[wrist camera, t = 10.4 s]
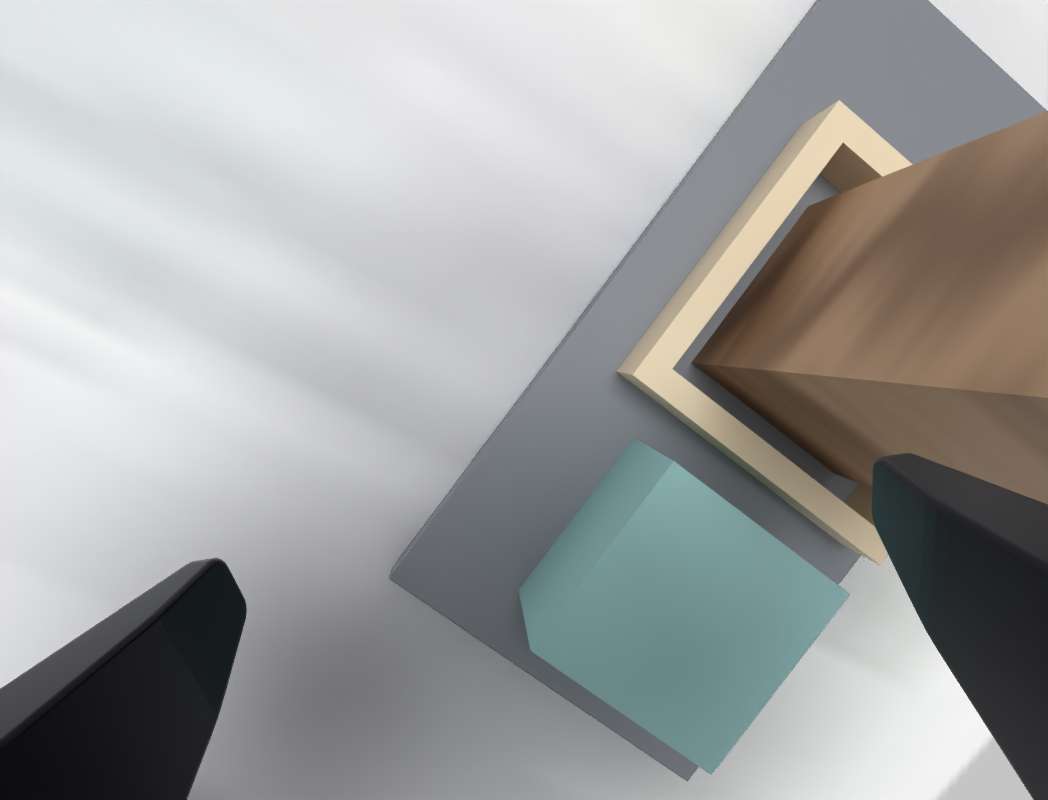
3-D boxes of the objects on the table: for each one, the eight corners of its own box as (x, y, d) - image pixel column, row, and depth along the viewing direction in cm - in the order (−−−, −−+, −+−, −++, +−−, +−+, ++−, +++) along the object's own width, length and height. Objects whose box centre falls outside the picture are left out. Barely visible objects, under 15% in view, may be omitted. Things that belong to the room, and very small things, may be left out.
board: (677, 761, 22) (736, 881, 17) (392, 567, 21) (369, 637, 16) (1107, 201, 22) (1295, 160, 17) (845, -39, 20) (966, -161, 15)
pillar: (834, 473, 21) (1371, 668, 8) (691, 362, 20) (1048, 398, 8) (948, 323, 21) (1663, 297, 8) (808, 206, 20) (1362, -14, 8)
